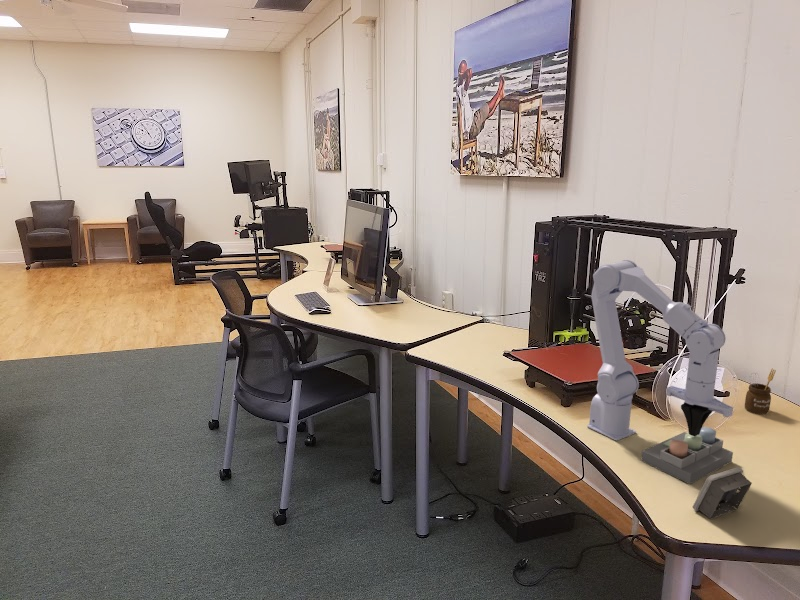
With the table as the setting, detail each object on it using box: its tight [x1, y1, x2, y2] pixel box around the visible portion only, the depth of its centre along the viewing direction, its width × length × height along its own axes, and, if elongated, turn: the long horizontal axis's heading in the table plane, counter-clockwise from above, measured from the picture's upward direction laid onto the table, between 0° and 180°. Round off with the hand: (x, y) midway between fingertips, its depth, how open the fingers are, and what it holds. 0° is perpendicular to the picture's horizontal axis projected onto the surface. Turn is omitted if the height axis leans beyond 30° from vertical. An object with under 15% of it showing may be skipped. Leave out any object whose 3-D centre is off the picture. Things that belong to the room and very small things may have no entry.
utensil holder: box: [744, 368, 777, 415], centre depth 161 cm, size 6×6×12 cm
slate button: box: [699, 426, 717, 443], centre depth 138 cm, size 4×4×2 cm
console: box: [640, 431, 734, 485], centre depth 136 cm, size 12×17×4 cm
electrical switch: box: [692, 466, 753, 520], centre depth 117 cm, size 9×5×9 cm, turn 113°
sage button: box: [684, 432, 702, 450], centre depth 135 cm, size 4×4×2 cm
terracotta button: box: [669, 440, 688, 457], centre depth 132 cm, size 4×4×2 cm
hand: (694, 434), depth 134 cm, fingers closed
